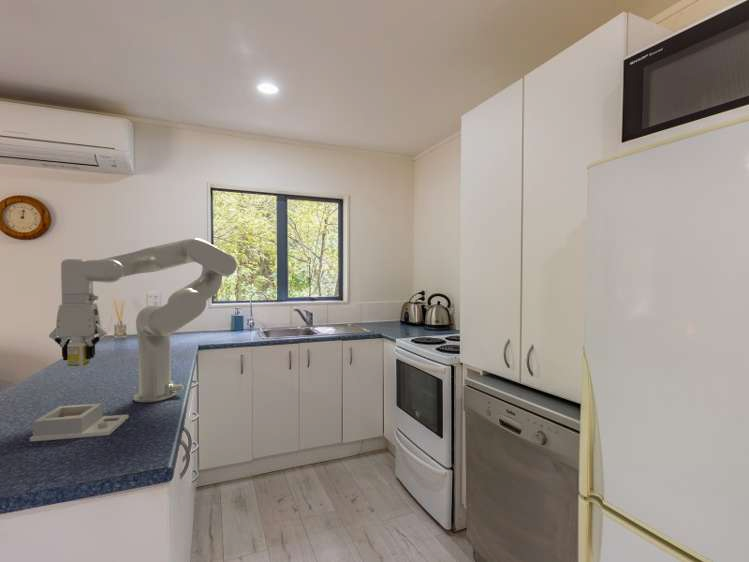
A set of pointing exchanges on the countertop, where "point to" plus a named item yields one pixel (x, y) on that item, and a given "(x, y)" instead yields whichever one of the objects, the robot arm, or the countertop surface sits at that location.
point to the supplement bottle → (77, 353)
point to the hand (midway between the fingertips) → (78, 358)
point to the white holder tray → (75, 423)
